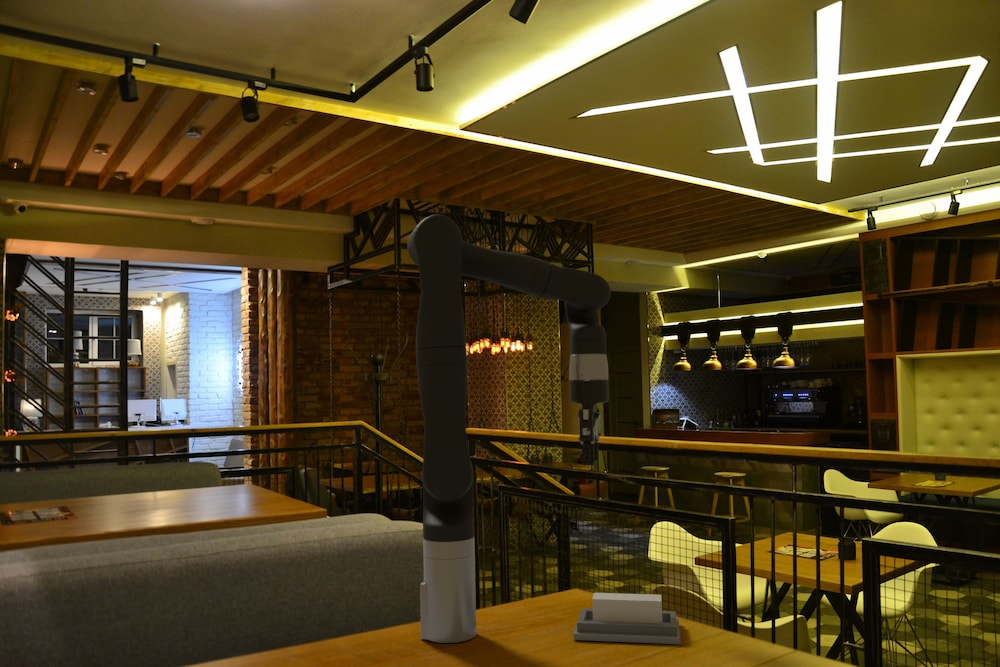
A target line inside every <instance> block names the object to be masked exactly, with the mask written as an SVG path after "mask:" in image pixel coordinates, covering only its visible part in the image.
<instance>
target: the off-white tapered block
mask: <svg viewBox="0 0 1000 667" xmlns="http://www.w3.org/2000/svg"><path fill="white" fill-rule="evenodd" d="M662 601H663V600H662V594H652V593H651V594H648V593H647V594H646V593H616V592H594V593H593V595H592V600H591V602H592V604H591V605H592V606H591V609H593V621H605V622H632V623H660V624H662V611H663V604H662Z"/></svg>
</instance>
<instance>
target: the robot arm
mask: <svg viewBox="0 0 1000 667" xmlns="http://www.w3.org/2000/svg"><path fill="white" fill-rule="evenodd" d="M406 248H407V249H406V250H407V254H408V256H409V257H410V260H411V261H412V262H413V263H414V264H415V265H416V266H417V267H418V271H419V272H418V273H419V278H420V280H419V282H420V301H419V303H420V304H419V309H418V316H417V324H416V330H415V331H416V333H415V334H416V335H415V358H416V360H415V362H416V375H417V383H418V392H419V398H420V403H421V404H420V405H421V410H422V415H423V426H424V427H423V428H424V429H423V430H424V433H423V434H424V435H423V438H424V439H423V459H422V468H421V480H422V481H421V482H422V488H423V489H422V493H423V498H422V500H423V512H422V514H423V516H422V543H423V544H422V549H423V552H422V553H423V556H422V557H423V581H422V582H421V583H420V585H419V586H420V587H419V594H420V595H419V598H420V599H419V600H420V605H419V608H420V611H419V613H420V640H427V641H430V642H434V643H440V644H453V643H462V642H466V641H468V640H472V639H473V638H475V637H476V636H477V612H476V610H477V607H476V606H477V605H476V604H477V603H476V602H477V601H476V553H475V552H476V551H475V550H476V549H475V508H474V507H475V504H474V502H475V501H474V498H475V497H474V466H473V463H472V461H471V456H470V450H469V449H470V448H469V443H468V437H467V436H468V435H467V427H466V408H467V399H468V398H467V395H468V352H467V339H466V338H467V337H466V329H465V318H464V309H463V308H464V307H463V301H462V288H461V287H462V284H461V282H462V276H465V277H469V278H475V279H478V280H482V281H486V282H488V283H492V284H495V285H499V286H501V287H502V286H503V287H506V288H509V289H510V290H511V289H512V290H513V291H514V290H515V291H518V292H520V293H523V294H527V295H529V296H532V297H535V298H540V299H542V300H551V301H552V300H558V301H563V302H564V311H565V315H566V321H567V325H568V330H569V334H570V335H569V350H570V352H569V354H570V356H569V357H570V358H569V365H568V370H569V372H568V374H569V379H568V380H569V381H568V382H569V402H570V403H572V404H581V408H579V410H578V414H577V416H578V417H577V418H578V433H579V437H578V440H579V442H580V445H581V464H582V465H583V466H593V465H595V462H597V461H598V460H599V441H600V437H601V419H602V418H601V416H602V415H601V412H600V408H599V407H597V405H598V404H600V403H601V404H605V403H608V402H609V400H610V392H609V391H610V390H609V388H610V386H609V365H608V356H607V352H608V351H607V333H606V330H605V327H604V326H603V325H601V324H600V320H599V314H598V313H599V312H598V310H601V309H602V308H603V307H605V306H606V305H607V304H608V302H609V301H610V300H611V295H612V292H611V291H612V290H611V286H610V284H609V283H608V281H607V280H606V279H605V278H604V277H603V276H601V275H599V274H597V273H594V272H590V271H587V270H583V269H577V268H571V267H565V266H560V265H556V264H555V263H551V262H549V261H545V260H543V259H539V258H536V257H533V256H530V255H526V254H522V253H517V252H511V251H504V250H497V249H492V248H487V247H483V246H481V245H480V246H479V245H476V244H472V243H470V242H468V241H466V240H463V236H462V233H461V230H460V227H459V226H458V225H457V223H456V222H455V221H454V220H453V219H451V217H449V216H447V215H444V214H439V213H438V214H431V215H429V216H427V217H425V218H424V219H422V220H421V221H420V222H418V224H417V225H416V226H415V227H414V229H413V231H412V232H411V233H410V235H409V238H408V240H407V247H406Z"/></svg>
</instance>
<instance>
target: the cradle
mask: <svg viewBox="0 0 1000 667" xmlns="http://www.w3.org/2000/svg"><path fill="white" fill-rule="evenodd" d="M676 612H677V611H675V610H674V611H673V610H662V624H660V623H632V622H605V621H593V609H592V608H588V607H587V608H586V607H585V608H584V607H582V608H581V610H580V612H579V616H578V619H577V621H576V625H575V628H574V631H573V641H592V642H593V641H594V642H595V641H596V642H618V643H619V642H622V643H640V644H642V643H645V644H663V645H665V644H666V645H681V644H682V643H681V630H680V621H679V617H677V615H676V614H677V613H676Z"/></svg>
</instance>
